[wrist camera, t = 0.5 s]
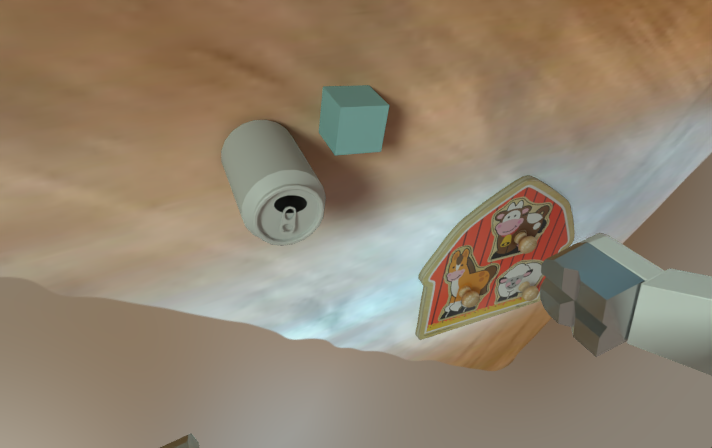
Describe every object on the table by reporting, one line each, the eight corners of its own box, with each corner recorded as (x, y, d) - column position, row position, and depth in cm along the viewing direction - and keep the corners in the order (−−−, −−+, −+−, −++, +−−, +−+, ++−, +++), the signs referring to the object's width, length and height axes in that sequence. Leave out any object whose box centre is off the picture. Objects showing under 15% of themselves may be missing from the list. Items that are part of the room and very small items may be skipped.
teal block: (322, 86, 48) (340, 107, 44) (368, 85, 50) (389, 105, 46) (318, 132, 51) (335, 155, 47) (361, 129, 53) (381, 151, 49)
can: (300, 120, 49) (342, 182, 40) (284, 183, 53) (320, 252, 44) (225, 111, 45) (254, 178, 37) (214, 179, 49) (238, 254, 41)
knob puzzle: (406, 336, 82) (418, 357, 79) (430, 193, 63) (447, 213, 60) (544, 292, 91) (560, 310, 88) (599, 157, 73) (623, 172, 70)
